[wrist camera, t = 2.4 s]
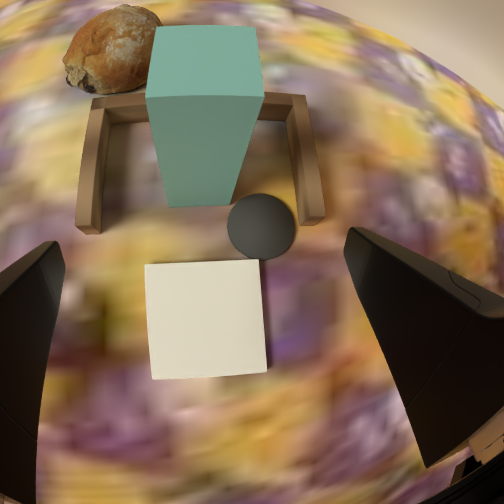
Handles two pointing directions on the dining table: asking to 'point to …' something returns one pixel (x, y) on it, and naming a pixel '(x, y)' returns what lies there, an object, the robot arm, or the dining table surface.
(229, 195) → the teal block
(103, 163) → the walnut frame
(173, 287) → the white tile
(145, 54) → the bread roll
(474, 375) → the robot arm
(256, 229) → the black disc
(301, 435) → the dining table surface
